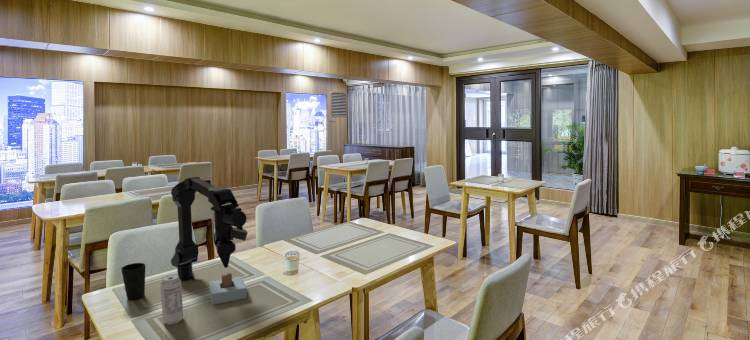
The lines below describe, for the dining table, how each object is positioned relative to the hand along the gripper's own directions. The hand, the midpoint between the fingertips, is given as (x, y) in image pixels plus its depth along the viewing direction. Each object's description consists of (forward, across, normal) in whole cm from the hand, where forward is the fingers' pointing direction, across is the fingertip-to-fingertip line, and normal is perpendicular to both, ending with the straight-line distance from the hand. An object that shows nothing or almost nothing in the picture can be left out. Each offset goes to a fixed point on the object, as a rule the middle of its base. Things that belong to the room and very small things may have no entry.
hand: (224, 263), depth 151 cm
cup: (+13, +12, +31) cm, 35 cm away
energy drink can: (+12, -13, +18) cm, 26 cm away
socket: (+12, -1, 0) cm, 12 cm away
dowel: (+12, -1, 0) cm, 12 cm away
